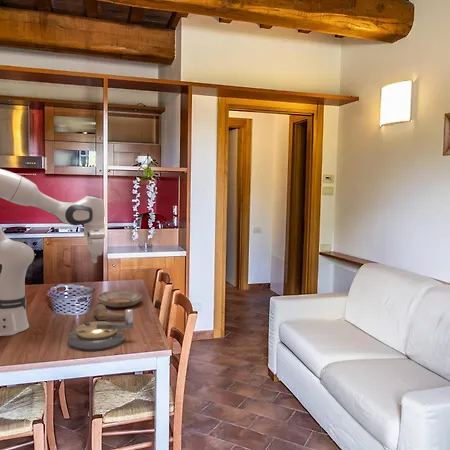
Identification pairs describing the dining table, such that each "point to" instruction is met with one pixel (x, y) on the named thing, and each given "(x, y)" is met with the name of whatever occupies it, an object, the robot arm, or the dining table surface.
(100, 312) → the pipe
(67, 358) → the dining table surface
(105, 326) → the round gold-topped disc
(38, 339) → the dining table surface
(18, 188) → the robot arm
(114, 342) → the disc
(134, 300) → the ceramic bowl
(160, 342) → the dining table surface
